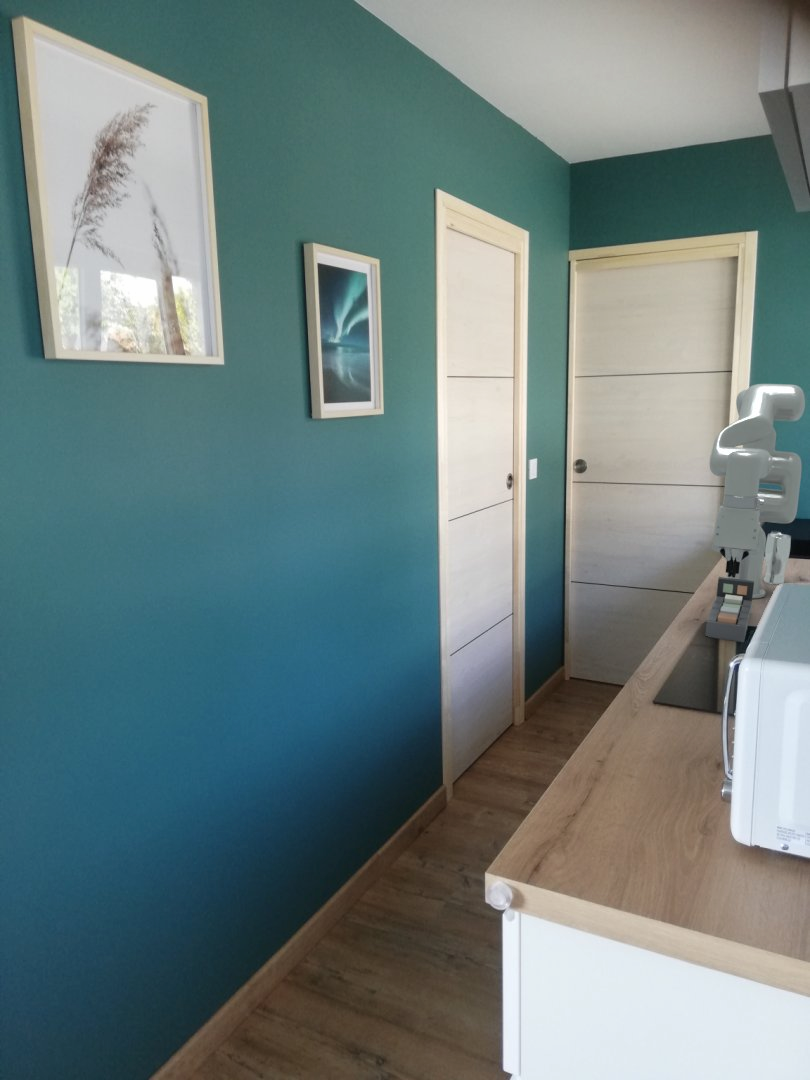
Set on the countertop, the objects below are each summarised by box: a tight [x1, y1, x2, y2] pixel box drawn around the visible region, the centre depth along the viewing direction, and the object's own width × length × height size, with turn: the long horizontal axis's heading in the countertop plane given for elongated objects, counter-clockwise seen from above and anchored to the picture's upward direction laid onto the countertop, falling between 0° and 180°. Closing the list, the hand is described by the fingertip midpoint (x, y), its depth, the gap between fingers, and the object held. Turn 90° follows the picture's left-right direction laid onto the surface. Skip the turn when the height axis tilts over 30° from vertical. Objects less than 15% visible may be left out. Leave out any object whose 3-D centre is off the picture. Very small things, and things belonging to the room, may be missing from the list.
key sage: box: [723, 603, 741, 611], centre depth 211 cm, size 4×4×2 cm
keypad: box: [704, 576, 754, 643], centre depth 209 cm, size 27×9×9 cm, turn 154°
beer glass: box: [762, 533, 792, 586], centre depth 250 cm, size 7×7×15 cm
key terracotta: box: [717, 613, 737, 624], centre depth 200 cm, size 4×4×2 cm
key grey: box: [720, 606, 739, 618], centre depth 206 cm, size 4×4×2 cm
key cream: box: [724, 594, 743, 605], centre depth 217 cm, size 4×4×2 cm
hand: (731, 575), depth 197 cm, fingers closed
